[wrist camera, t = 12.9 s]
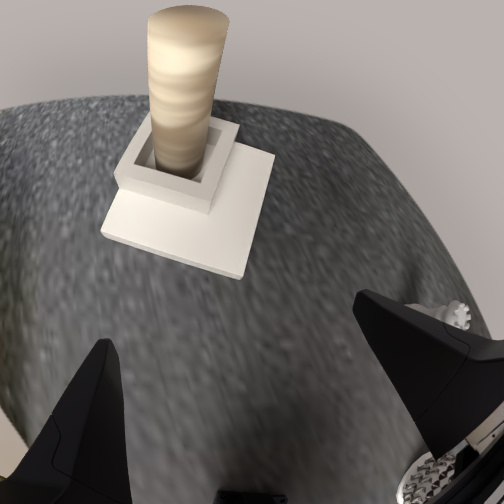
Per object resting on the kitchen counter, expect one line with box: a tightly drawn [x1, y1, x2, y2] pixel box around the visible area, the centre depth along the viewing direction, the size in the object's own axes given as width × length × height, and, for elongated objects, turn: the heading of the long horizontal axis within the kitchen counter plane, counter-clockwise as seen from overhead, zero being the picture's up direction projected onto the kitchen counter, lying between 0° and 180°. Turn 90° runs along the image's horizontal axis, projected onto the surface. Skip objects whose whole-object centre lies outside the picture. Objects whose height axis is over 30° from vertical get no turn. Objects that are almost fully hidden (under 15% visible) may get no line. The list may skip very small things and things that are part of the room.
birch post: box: [148, 5, 229, 180], centre depth 17 cm, size 4×4×14 cm
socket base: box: [101, 112, 275, 280], centre depth 23 cm, size 12×12×4 cm
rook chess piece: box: [405, 300, 471, 331], centre depth 22 cm, size 4×4×8 cm
